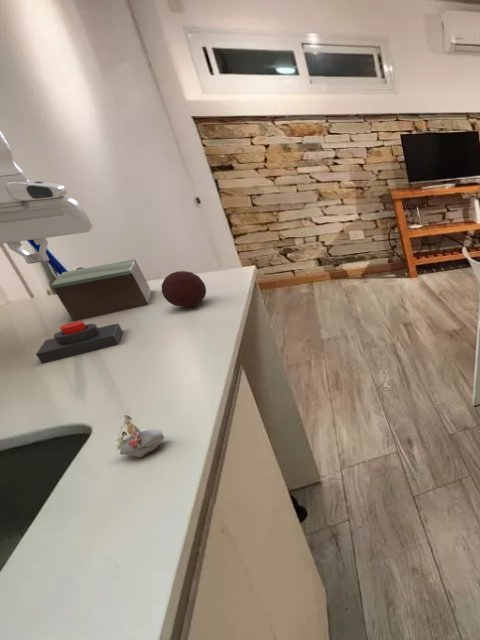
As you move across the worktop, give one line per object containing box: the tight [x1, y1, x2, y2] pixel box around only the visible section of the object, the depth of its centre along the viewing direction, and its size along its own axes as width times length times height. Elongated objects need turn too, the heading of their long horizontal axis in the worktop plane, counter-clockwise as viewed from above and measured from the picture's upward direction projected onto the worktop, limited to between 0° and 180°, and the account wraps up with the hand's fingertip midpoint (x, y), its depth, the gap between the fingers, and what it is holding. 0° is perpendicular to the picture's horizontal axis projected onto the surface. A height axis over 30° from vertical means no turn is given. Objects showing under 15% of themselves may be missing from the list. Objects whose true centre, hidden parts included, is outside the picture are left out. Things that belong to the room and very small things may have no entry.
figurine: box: [115, 414, 165, 458], centre depth 67 cm, size 5×4×6 cm
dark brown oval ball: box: [161, 270, 207, 308], centre depth 121 cm, size 9×12×9 cm
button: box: [59, 320, 87, 335], centre depth 102 cm, size 4×4×2 cm
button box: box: [35, 322, 124, 364], centre depth 103 cm, size 12×9×4 cm
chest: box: [53, 261, 153, 322], centre depth 126 cm, size 14×15×9 cm
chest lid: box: [50, 259, 137, 290], centre depth 124 cm, size 15×15×1 cm
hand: (38, 262), depth 97 cm, fingers closed
